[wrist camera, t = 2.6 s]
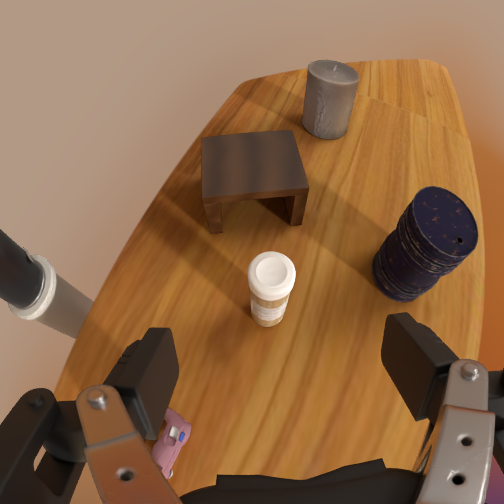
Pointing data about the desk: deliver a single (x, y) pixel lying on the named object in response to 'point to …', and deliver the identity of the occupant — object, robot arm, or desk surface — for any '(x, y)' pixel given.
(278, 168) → the shelf
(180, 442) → the video game controller
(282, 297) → the sprinkles bottle
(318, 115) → the pillar candle
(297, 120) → the desk surface
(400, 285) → the navy ridged cylinder
